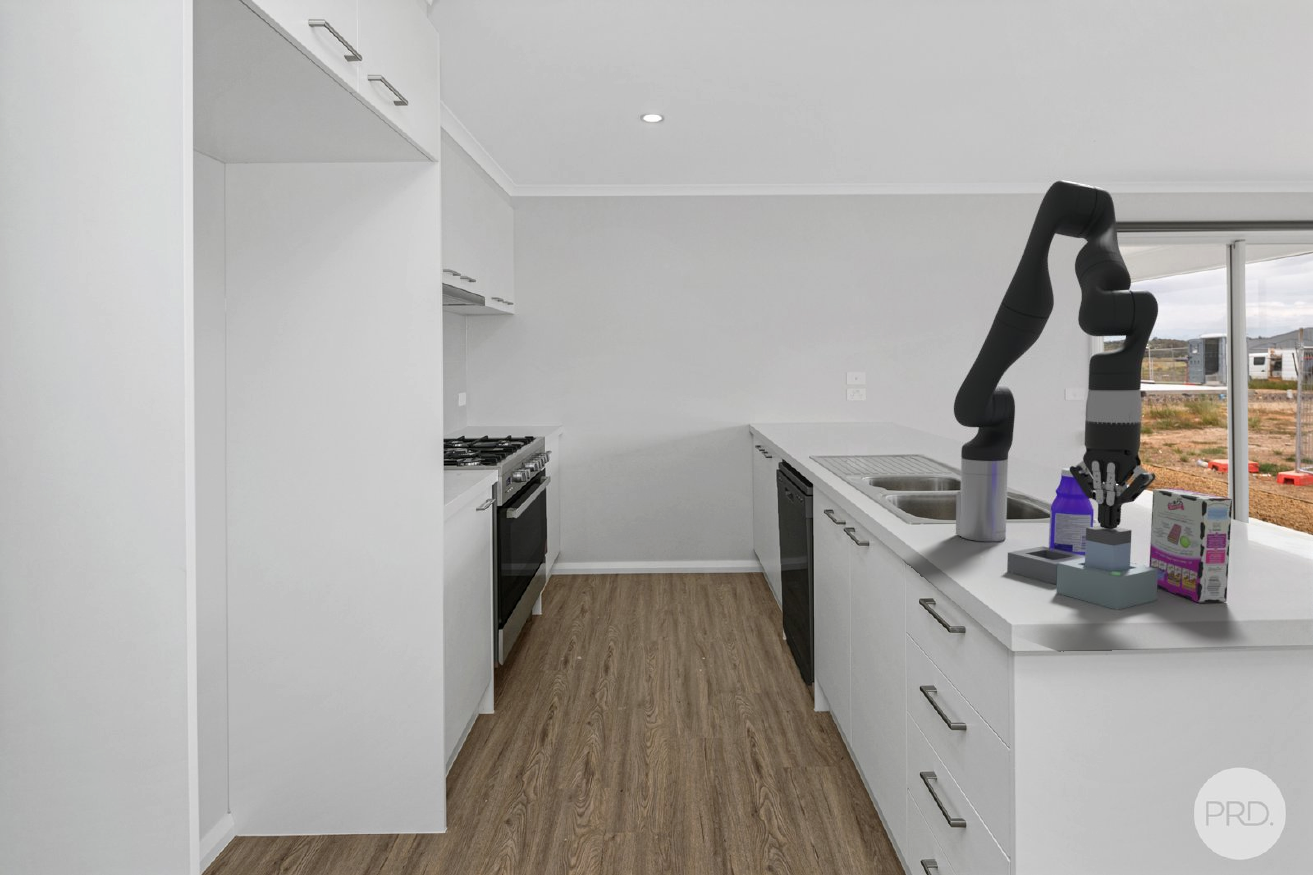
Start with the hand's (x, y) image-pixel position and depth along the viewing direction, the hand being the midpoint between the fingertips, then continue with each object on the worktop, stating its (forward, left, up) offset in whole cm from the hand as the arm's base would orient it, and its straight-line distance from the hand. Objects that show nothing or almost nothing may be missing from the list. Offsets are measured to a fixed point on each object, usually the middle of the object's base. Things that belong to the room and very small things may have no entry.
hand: (1108, 527), depth 121 cm
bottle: (-18, +17, -11) cm, 27 cm away
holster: (-13, +4, -11) cm, 18 cm away
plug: (0, 0, -10) cm, 10 cm away
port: (0, 0, -11) cm, 11 cm away
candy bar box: (+5, +13, -12) cm, 18 cm away
